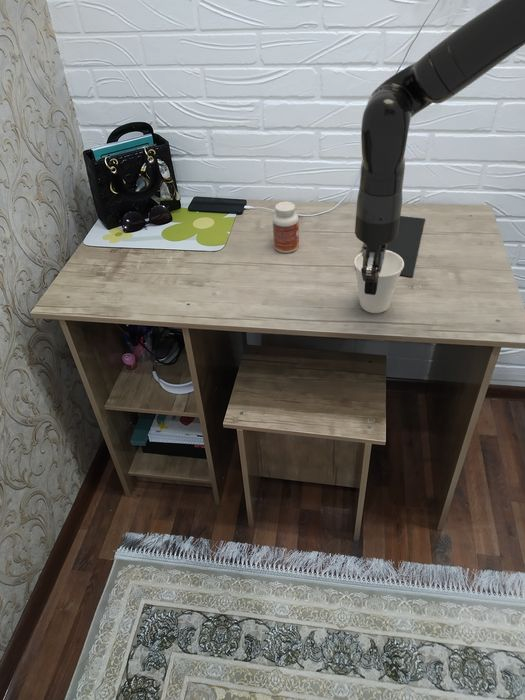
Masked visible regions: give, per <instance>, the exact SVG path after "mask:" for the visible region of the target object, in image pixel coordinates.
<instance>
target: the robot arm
mask: <svg viewBox="0 0 525 700" xmlns="http://www.w3.org/2000/svg"><path fill="white" fill-rule="evenodd" d="M523 46H525V0H498V2H496V3H494V4H493V5H491V6H490V7H489V8H486V9H485V10H484V11H482V12H481V13H479V14H478V15H476V16H475V17H473V18H472V19H470V20H469V21H467V22H465V24H463V25H461V26H460V27H458V29H456V30H455V31H454V32H452V33H450V34H449V35H448V36H447V37H445V38H444V39H443V40H442V41H440V42H439V43H438V44H436V45H435V46H434V47H433V48H431V49H430V50H429V51H428V52H427V53H425V54H424V55H423V56H422V57H421V58H420V59H418V60H417V61H416V62H414V63H412V64H410V65H408V66H407V67H404V68H403V69H401V70H399V71H398V72H396V73H395V74H393V75H391V76H390V77H389V78H388V79H387V78H386V80H385V81H383V82H381V84H379V86H377V87H376V88H375V89H374V90H373V92H372V93H371V94H370V96H369V98H368V101H367V103H366V105H365V108H364V110H363V113H362V118H361V127H360V128H361V130H360V131H361V132H360V141H361V142H360V144H361V164H360V176H359V188H358V193H357V196H356V210H355V224H354V233H355V234H354V235H355V237H356V238H357V240H359V241H360V242H362V243H363V244H364V243H365V246H363V245H362V248H363V250H362V249H361V251H362V256H363V267H362V268H361V271H362V278H363V281H365V290H364V293H365V294H370V295H375V294H376V291H377V285H378V278H379V273H380V272H381V269H382V264H383V262H384V256H385V251H386V249H387V244H388V243H391V242H392V241H394V240H395V239H396V238H397V236H398V231H399V223H400V216H402V214H401V213H402V206H403V187H404V179H405V170H406V158H405V154H406V148H407V142H408V136H409V130H410V124H411V120H412V118H413V117H414V116H415V115H417V114H418V113H420V112H421V111H423V110H425V108H427V107H428V106H430V105H432V104H436V105H438V104H442V103H445V102H446V101H448V100H450V99H451V98H453V97H454V96H455V95H457V94H459V93H460V92H461V91H463V90H464V89H466V88H467V87H468V86H470V85H471V84H473V83H474V82H475V81H477V80H478V79H480V78H481V77H483V76H484V75H485V74H487V73H488V72H490V70H492V69H494V68H495V67H496V66H498V65H499V64H501V62H503V61H504V60H506V59H507V58H508V57H509V56H512V54H514V53H516V51H518V50H519V49H521V48H522V47H523Z"/></svg>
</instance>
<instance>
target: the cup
mask: <svg viewBox="0 0 525 700" xmlns="http://www.w3.org/2000/svg"><path fill="white" fill-rule="evenodd" d="M353 265H354V268H356V270H355V273H356V280H357V289H358V296H359V297H358V298H359V305H360V307H361V308H362V309H363V310H364V311H365V312H368V313H370V314H381V313H383V312H385V311H387V310H388V309H389V308H390V306H391V302H392V299H393V296H394V293H395V290H396V287H397V284H398V282H399V279H400V277H401V276H400V273H401V271H402V269H403V268H404V261H403V259H402V258H401V257H400V256H399V255H398V254H396V253H394V252H392V251H388V250H386V251H385V256H384V262H383V264H382V269H381V272H380V273H379V278H378V285H377V291H376V294H375V295H370V294H365V293H364V290H365V281H363V278H362V271H361V268H362V267H363V256H362V253H361V252H360V253H358V254H357V255H356V256H355V258H354V260H353Z"/></svg>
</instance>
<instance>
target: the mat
mask: <svg viewBox="0 0 525 700" xmlns="http://www.w3.org/2000/svg"><path fill="white" fill-rule="evenodd" d="M425 222H426V218H425V217H424V218H423V217H414V216H406V215H405V216H404V215H401V216H400V223H399V231H398V236H397V238H396V239H395V240H394V241H392V242H391V243H388V244H387V249H386V250H388V251H392V252H394V253H396V254H398V255H399V256H400V257H401V258H402V259H403V261H404V268H403V269H402V271H401V273H400V276H399V277H407V278H413V276H414V272H415V268H416V265H417V264H416V263H417V258H418V254H419V250H420V244H421V240H422V237H423V231H424V227H425ZM363 246H365V243H364V242H363V245H362V248H361V251H360V253H362V250H363ZM354 269H355V271H356V267H354Z"/></svg>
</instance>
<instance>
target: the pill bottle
mask: <svg viewBox="0 0 525 700" xmlns="http://www.w3.org/2000/svg"><path fill="white" fill-rule="evenodd" d="M274 210H275V211H274V213H273V215H272V235H273V236H272V237H273V247H274V248H273V249H274V250H276V251H277V252H279V253H284V254H290V253H292V252H295V251H296V250H298V249H299V246H300V234H299V233H300V231H299V229H300V228H299V227H300V224H299V223H300V222H299V220H300V219H299V215H298V213H297V212H296V205H295V203H293V202H291V201H281V202H278V203H276V204H275V206H274Z"/></svg>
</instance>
